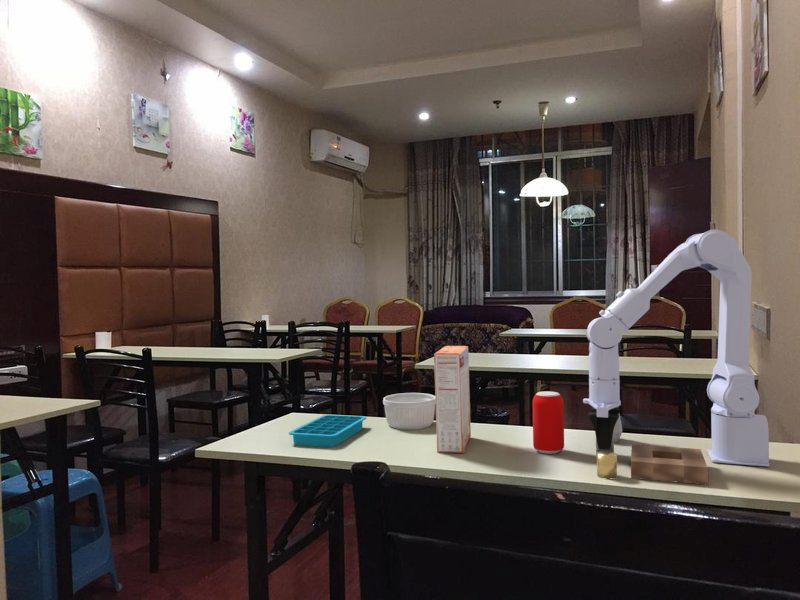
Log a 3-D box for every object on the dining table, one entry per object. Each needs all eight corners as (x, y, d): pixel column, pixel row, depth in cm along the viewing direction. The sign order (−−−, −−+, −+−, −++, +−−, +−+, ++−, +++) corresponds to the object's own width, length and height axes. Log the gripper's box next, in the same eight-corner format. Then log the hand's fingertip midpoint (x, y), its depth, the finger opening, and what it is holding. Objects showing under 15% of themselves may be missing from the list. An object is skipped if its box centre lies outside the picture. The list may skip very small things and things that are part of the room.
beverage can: (535, 446, 127) (534, 390, 126) (565, 448, 125) (564, 391, 124) (531, 454, 121) (530, 395, 121) (563, 456, 119) (562, 396, 119)
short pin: (617, 474, 107) (617, 452, 107) (616, 480, 104) (616, 457, 104) (597, 472, 108) (597, 450, 108) (596, 478, 105) (596, 455, 105)
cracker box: (445, 436, 137) (443, 345, 136) (471, 437, 135) (469, 345, 135) (434, 453, 123) (432, 352, 123) (463, 454, 122) (461, 352, 121)
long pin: (614, 454, 120) (614, 419, 119) (613, 458, 116) (613, 423, 116) (596, 452, 121) (596, 418, 121) (595, 457, 118) (595, 422, 118)
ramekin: (384, 432, 142) (383, 403, 142) (382, 420, 155) (382, 393, 155) (439, 430, 143) (438, 401, 143) (433, 418, 156) (433, 391, 156)
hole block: (700, 465, 111) (700, 449, 111) (707, 485, 100) (707, 467, 100) (632, 459, 116) (631, 444, 116) (631, 478, 105) (630, 461, 105)
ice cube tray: (368, 428, 147) (368, 416, 147) (335, 450, 128) (334, 436, 128) (325, 426, 151) (325, 414, 151) (286, 446, 132) (286, 433, 132)
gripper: (586, 372, 127) (587, 436, 127) (579, 382, 113) (580, 454, 113) (621, 373, 124) (622, 438, 124) (619, 384, 110) (620, 457, 111)
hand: (605, 446), depth 119 cm, fingers closed on long pin, 3 cm apart
